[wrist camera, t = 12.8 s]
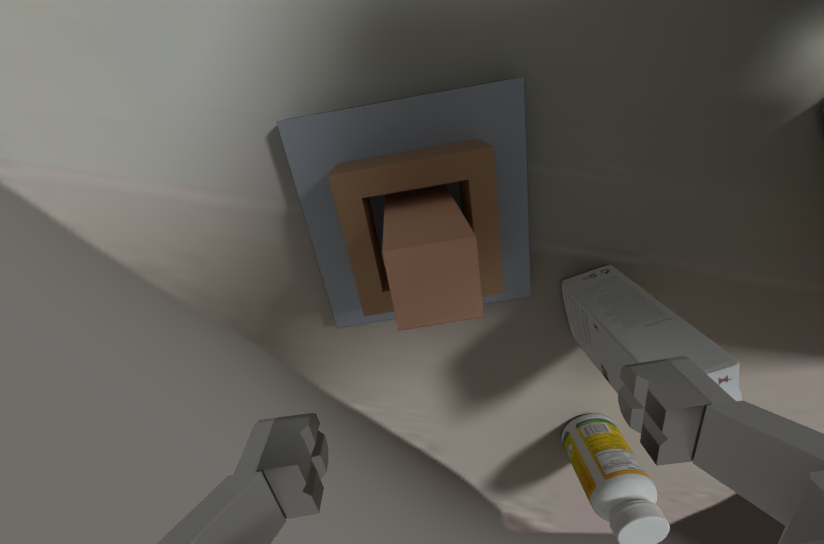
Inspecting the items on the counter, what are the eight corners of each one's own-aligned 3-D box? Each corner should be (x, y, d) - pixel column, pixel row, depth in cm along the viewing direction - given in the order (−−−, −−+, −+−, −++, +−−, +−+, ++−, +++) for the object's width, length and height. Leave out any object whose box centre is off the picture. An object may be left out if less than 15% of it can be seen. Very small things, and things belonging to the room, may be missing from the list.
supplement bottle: (588, 403, 36) (651, 501, 27) (624, 426, 38) (694, 526, 29) (547, 437, 38) (594, 540, 29) (583, 458, 39) (638, 562, 31)
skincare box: (557, 280, 30) (652, 386, 19) (613, 260, 30) (743, 358, 19) (572, 339, 33) (663, 463, 22) (623, 322, 32) (744, 440, 21)
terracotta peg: (445, 184, 25) (475, 236, 16) (452, 241, 27) (483, 316, 18) (385, 195, 25) (382, 252, 16) (395, 250, 27) (398, 330, 18)
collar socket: (516, 78, 24) (549, 73, 19) (524, 286, 30) (551, 324, 25) (282, 120, 24) (255, 126, 19) (339, 317, 31) (329, 361, 26)
